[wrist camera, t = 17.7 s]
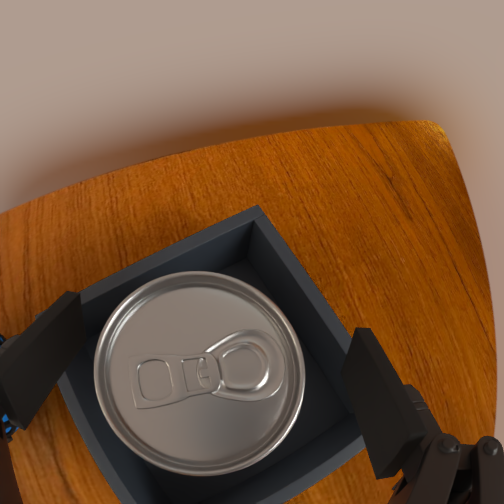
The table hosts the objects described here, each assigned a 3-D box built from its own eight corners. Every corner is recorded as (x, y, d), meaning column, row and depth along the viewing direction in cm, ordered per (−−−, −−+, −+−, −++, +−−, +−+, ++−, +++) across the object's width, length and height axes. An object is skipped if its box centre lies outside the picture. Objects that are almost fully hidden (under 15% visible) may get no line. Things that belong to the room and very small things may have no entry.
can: (273, 424, 17) (345, 457, 7) (171, 442, 16) (104, 497, 5) (251, 328, 20) (287, 240, 9) (152, 345, 19) (73, 274, 8)
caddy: (359, 414, 19) (402, 415, 13) (176, 519, 14) (162, 555, 9) (249, 248, 23) (258, 203, 18) (75, 337, 19) (34, 315, 14)
